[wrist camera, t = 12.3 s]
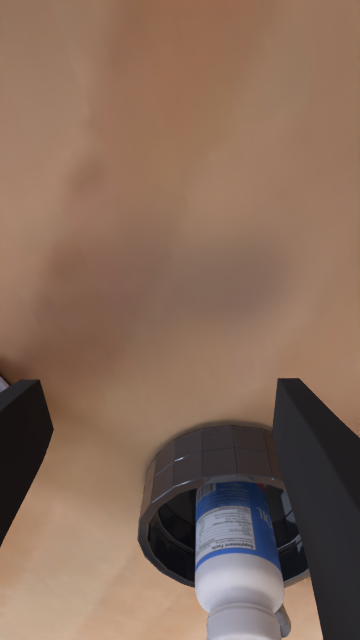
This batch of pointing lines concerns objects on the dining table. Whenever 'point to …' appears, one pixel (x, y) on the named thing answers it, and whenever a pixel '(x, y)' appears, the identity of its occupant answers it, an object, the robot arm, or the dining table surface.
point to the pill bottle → (237, 562)
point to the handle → (283, 621)
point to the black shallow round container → (208, 468)
